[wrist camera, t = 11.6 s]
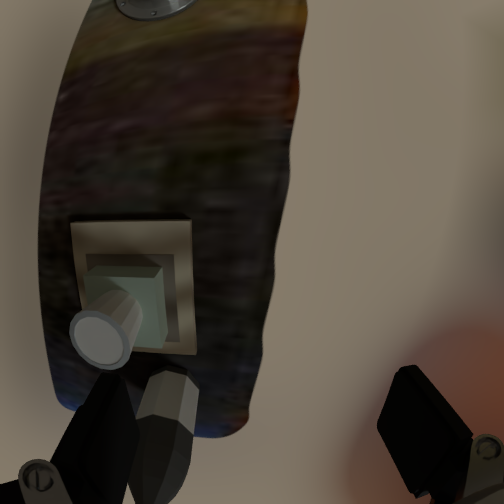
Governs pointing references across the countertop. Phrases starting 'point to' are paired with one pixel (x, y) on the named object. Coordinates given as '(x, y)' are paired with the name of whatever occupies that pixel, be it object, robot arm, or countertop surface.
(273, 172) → the countertop surface
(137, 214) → the countertop surface
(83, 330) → the grey tapered cup
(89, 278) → the sage block
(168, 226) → the board
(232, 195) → the countertop surface
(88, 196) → the countertop surface
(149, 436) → the wine bottle
